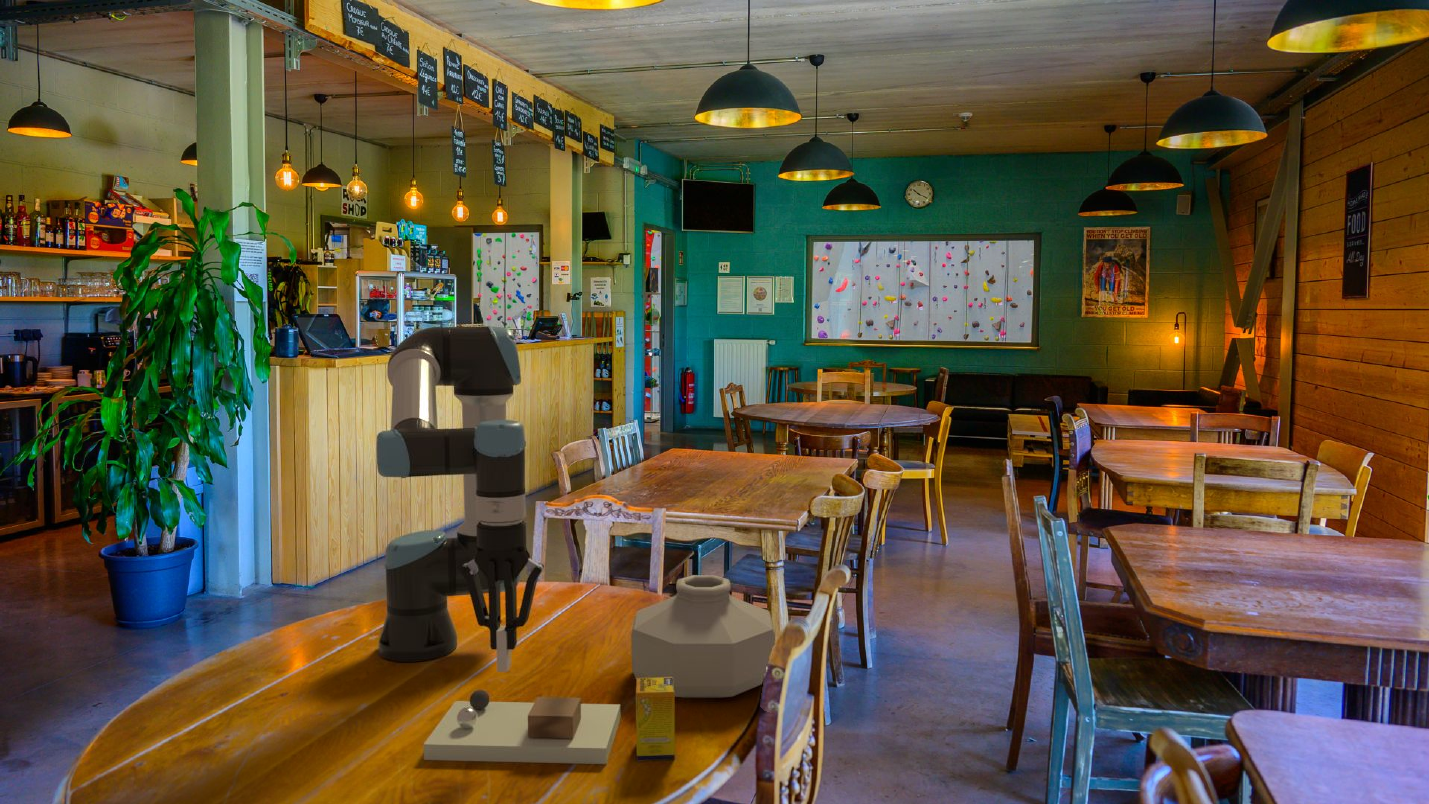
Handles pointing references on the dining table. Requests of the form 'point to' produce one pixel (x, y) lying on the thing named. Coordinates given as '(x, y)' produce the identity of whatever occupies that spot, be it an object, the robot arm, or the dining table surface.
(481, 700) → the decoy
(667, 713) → the supplement box
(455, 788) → the dining table surface
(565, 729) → the cover
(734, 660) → the pot
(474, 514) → the robot arm
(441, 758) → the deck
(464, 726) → the ball
